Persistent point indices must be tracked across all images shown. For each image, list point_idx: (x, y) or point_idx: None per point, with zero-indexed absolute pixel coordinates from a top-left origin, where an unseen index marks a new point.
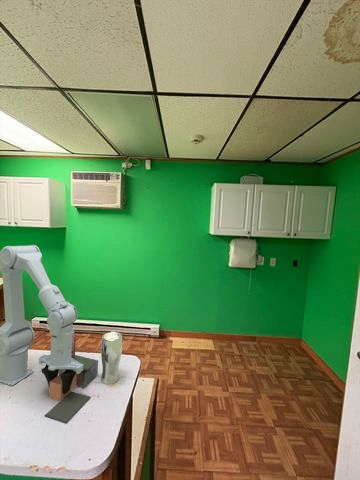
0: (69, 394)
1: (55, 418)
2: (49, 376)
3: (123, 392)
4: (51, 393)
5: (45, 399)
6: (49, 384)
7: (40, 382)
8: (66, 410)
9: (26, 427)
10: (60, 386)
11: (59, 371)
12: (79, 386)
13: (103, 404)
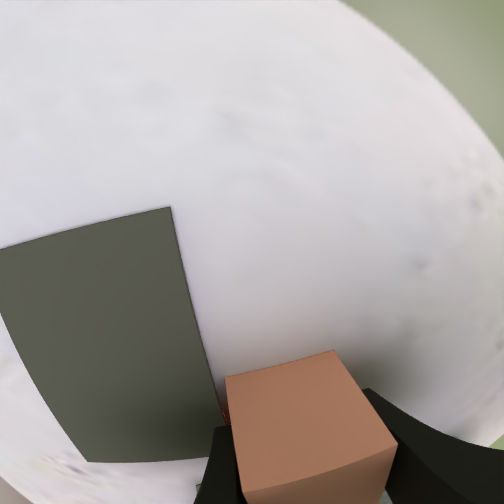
0: None
1: (58, 234)
2: (434, 479)
3: (34, 495)
4: (327, 380)
5: (343, 326)
6: (392, 419)
7: (463, 371)
8: (71, 334)
9: (200, 56)
10: (246, 476)
11: None
12: None
13: (7, 436)
